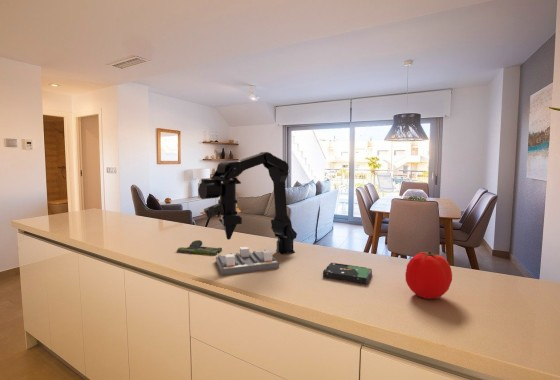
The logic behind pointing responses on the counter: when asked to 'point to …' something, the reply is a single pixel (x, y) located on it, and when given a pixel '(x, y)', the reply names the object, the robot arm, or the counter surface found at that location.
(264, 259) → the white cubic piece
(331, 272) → the disk drive
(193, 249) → the gun
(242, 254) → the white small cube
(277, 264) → the switch bank
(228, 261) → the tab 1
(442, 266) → the tomato
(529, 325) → the counter surface
